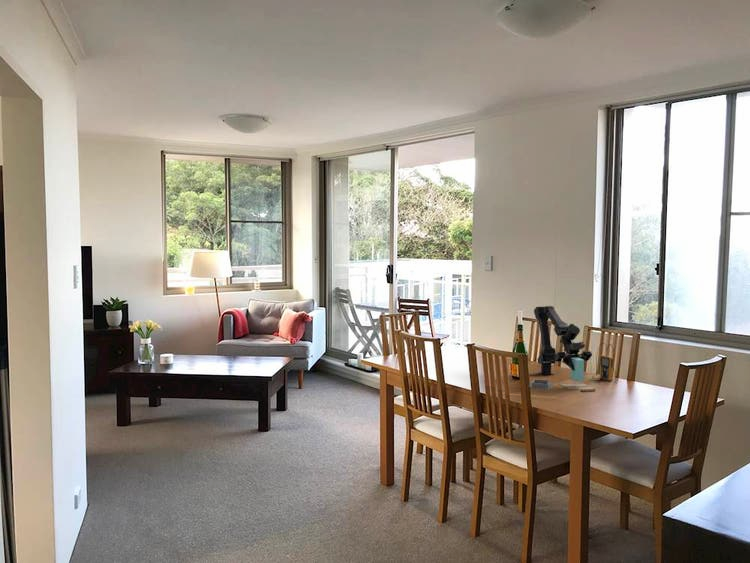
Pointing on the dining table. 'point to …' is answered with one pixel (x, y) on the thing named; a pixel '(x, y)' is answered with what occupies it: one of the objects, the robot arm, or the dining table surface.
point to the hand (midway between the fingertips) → (578, 370)
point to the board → (578, 387)
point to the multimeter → (606, 366)
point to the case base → (541, 384)
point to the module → (577, 369)
